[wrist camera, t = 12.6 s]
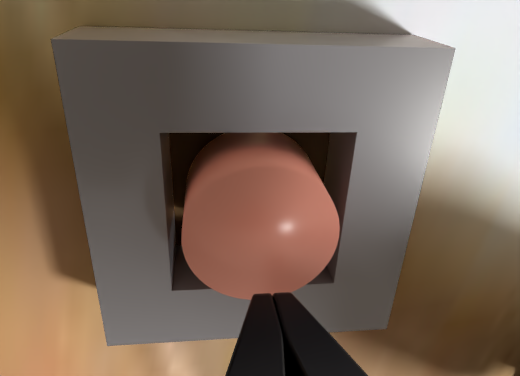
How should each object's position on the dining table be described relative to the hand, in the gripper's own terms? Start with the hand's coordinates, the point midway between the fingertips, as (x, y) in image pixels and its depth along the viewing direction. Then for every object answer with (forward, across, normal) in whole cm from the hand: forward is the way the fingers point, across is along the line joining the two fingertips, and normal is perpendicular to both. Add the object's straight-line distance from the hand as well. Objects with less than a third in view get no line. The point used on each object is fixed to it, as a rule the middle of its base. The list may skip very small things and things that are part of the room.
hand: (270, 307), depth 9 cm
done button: (+6, 0, 0) cm, 6 cm away
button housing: (+6, 0, 0) cm, 6 cm away
